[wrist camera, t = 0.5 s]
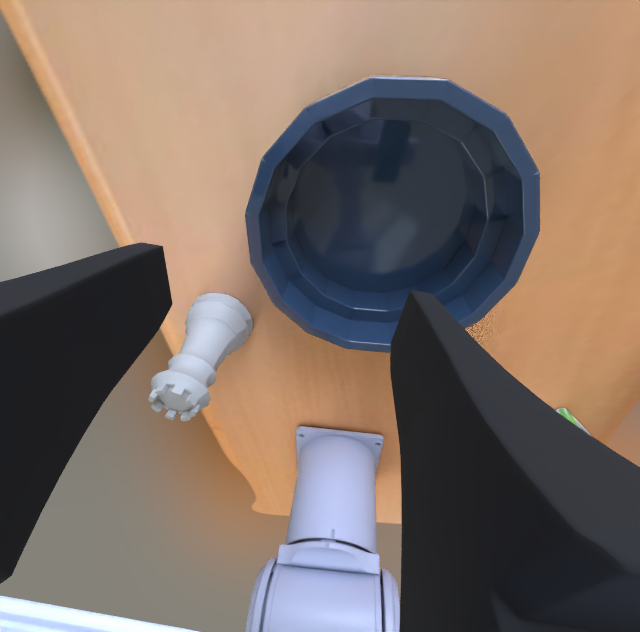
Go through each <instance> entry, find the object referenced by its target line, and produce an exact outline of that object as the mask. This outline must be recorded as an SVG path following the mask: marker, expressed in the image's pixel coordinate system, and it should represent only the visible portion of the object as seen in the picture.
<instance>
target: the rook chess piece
mask: <svg viewBox="0 0 640 632" xmlns="http://www.w3.org/2000/svg"><path fill="white" fill-rule="evenodd" d="M185 324H186V331H185V332H186V335H187V336H186V339H185V341H184V343H183V346H182V348H181V350H180V352H179V353H178V355H176V356H174V357H173V358H171V359H170V360H169V364H168V367H169V370H167V371H163V372H160V373H158V374H156V375H155V376H154V377H153V378H152V381H151V388H152V393H151V394H150V396H149V401H151V402H154V403H153V405H152V406H151V407H152V408H153V409H154V410H155V411H156V412H160V411H161V409H162V407H164V408H166V409H167V410H168V412H167V414H166V416H165V418H168V419H171V420H174V418H175V417H176V415H177V413H179V414H182V416H181V417H180V419H181V420H182V421H188V420H190V418H191V416H193V417H195V415H196V413H197V411H199V410H202V409H203V408H205V407H206V406H208V404H209V401H210V396H209V392H208V389H207V387H209V386H211V385H212V384H214V382H215V379H216V375H215V372H216V370H217V368H218V367H219V366H220V364H221V363H222V361H223V360H224V359H225V357H226V356H227V355H230V354H231V353H232V352H234V351H236V350H237V349H239V348H240V347H241V346H243V345H244V344H245V342H246V340H247V337H248V336H249V335H250V333H251V331H252V328H253V322H252V317H251V315H250V313H249V312H248V310H247V308H246V307H245V305H244V304H242V303H241V302H240V301H239V300H238V299H236V298H234V297H232V296H230V295H227V294H222V293H208V294H204V295H201V296H199V297H198V298H197V299H196V300H195V301H194V302H193V304H192V308H191V309H189V310H188V314H187V318H186V322H185Z"/></svg>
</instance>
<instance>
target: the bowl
mask: <svg viewBox="0 0 640 632" xmlns="http://www.w3.org/2000/svg"><path fill="white" fill-rule="evenodd" d="M245 218H246V227H247V235H248V244H249V252H250V261H251V264H252V266H253V268H254V270H255V272H256V274H257V276H258V277H259V279H260V281H261V283H262V285H263V286H264V288H265V290H266V292H267V294H268V295H269V297H270V299H271V301H272V303H274V305H275V306H276V307H277V308H278V309H280V310H281V311H282V312H283V313H284V314H285V315H287V316H288V317H289V318H290V319H291V320H292V321H294V322H295V323H296V324H297V325H298V326H299V327H301V328H302V329H303V330H304V331H305V332H307V333H309V334H311V335H314V336H316V337H319V338H321V339H324V340H326V341H329V342H331V343H333V344H336V345H338V346H341V347H343V348H347V349H353V350H364V351H375V352H386V353H390V352H391V341H392V338H393V335H394V332H395V330H396V327H397V324H398V321H399V319H400V316H401V313H402V310H403V308H404V305H405V302H406V299H407V297H408V294H409V291H410V290H414V291H419V292H425V293H431V294H432V295H433V296H434V297H435V298H436V299H437V300H438V301H439V302H440V303H441V304H442V305H443V306H444V307H445V308H446V309H447V311H448V312H449V313H450V314H451V315H452V316H453V317H454V318H455V319H456V320H457V322H458V323H459V324H460V325H461V326H462V327H463V328H464V329H465V328H467V327H469V326H471V325H473V324H475V323H477V322H478V321H479V320H481V319H482V318H483V317H484V316H485V315H486V314H487V313H488V312H489V311H490V310H491V309H492V308H493V307H494V306H495V305H496V304H497V303H498V302H499V301H500V300H501V299H502V298H503V297H504V296H505V295H506V294H507V293H508V292H509V291H510V290H511V289H512V288H513V287H514V286H515V285H516V283H517V282H518V279H519V277H520V275H521V273H522V270H523V268H524V266H525V264H526V261H527V259H528V257H529V255H530V253H531V250H532V248H533V246H534V244H535V241H536V239H537V237H538V235H539V231H540V173H539V170H538V168H537V166H536V164H535V163H534V161H533V159H532V157H531V155H530V154H529V152H528V150H527V148H526V146H525V145H524V143H523V141H522V139H521V137H520V136H519V134H518V132H517V130H516V128H515V126H514V125H513V123H512V121H511V119H510V117H509V116H507V114H506V113H504V112H503V111H501V110H499V109H497V108H496V107H494V106H492V105H491V104H489V103H487V102H486V101H484V100H482V99H480V98H479V97H477V96H475V95H474V94H472V93H470V92H469V91H467V90H465V89H464V88H462V87H460V86H458V85H457V84H455V83H453V82H452V81H450V80H446V79H443V78H434V77H428V76H396V75H371V76H367V77H365V78H363V79H360V80H358V81H356V82H354V83H352V84H350V85H347V86H345V87H343V88H341V89H339V90H336V91H334V92H332V93H330V94H328V95H326V96H323V97H321V98H319V99H318V100H316V101H315V102H313V103H312V104H310V105H309V106H307V107H306V108H304V109H303V111H302V112H301V113H300V114H299V115H298V116H297V118H296V119H295V120H294V121H293V122H292V123H291V124H290V126H289V127H288V128H287V129H286V130H285V131H284V133H283V134H282V135H281V136H280V137H279V138H278V140H277V141H276V142H275V143H274V144H273V145H272V146H271V148H270V149H269V150H268V151H267V152H266V153H265V155H264V156H263V157H262V159H261V162H260V165H259V169H258V172H257V175H256V179H255V182H254V185H253V189H252V192H251V195H250V198H249V202H248V205H247V208H246V213H245Z"/></svg>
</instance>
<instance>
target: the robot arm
mask: <svg viewBox="0 0 640 632" xmlns="http://www.w3.org/2000/svg"><path fill="white" fill-rule="evenodd" d="M171 306H172V299H171V293H170V287H169V281H168V275H167V269H166V263H165V257H164V251H163V246H158V245H153V244H147V243H137V244H132V245H128V246H124V247H120V248H117V249H113V250H110V251H107V252H103V253H100V254H97V255H94V256H90V257H87V258H84V259H81V260H78V261H74V262H71V263H68V264H65V265H62V266H58V267H54V268H51V269H47V270H44V271H40V272H37V273H33V274H29V275H26V276H23V277H19V278H15V279H11V280H7V281H3V282H0V583H2V582H4V581H5V580H6V579H8V578H9V577H10V576H11V575H12V574H13V571H14V569H15V567H16V565H17V562H18V560H19V558H20V556H21V554H22V551H23V549H24V547H25V545H26V543H27V541H28V539H29V537H30V535H31V533H32V531H33V529H34V526H35V524H36V522H37V520H38V518H39V516H40V514H41V512H42V510H43V508H44V506H45V504H46V502H47V500H48V498H49V496H50V495H51V492H52V491H53V489H54V487H55V485H56V483H57V481H58V479H59V477H60V475H61V474H62V472H63V470H64V468H65V466H66V464H67V462H68V461H69V459H70V457H71V456H72V454H73V452H74V451H75V449H76V447H77V445H78V443H79V441H80V440H81V438H82V436H83V435H84V433H85V432H86V430H87V428H88V427H89V425H90V423H91V422H92V420H93V418H94V417H95V415H96V414H97V412H98V410H99V409H100V407H101V405H102V404H103V402H104V401H105V399H106V398H107V397H108V395H109V394H110V392H111V391H112V390H113V388H114V387H115V386H116V384H117V383H118V382H119V381H120V379H121V378H122V377H123V375H124V374H125V373H126V372H127V370H128V369H129V368H130V366H131V365H132V364H133V363H134V361H135V360H136V359H137V357H138V356H139V355H140V354H141V352H142V351H143V350H144V348H145V347H146V346H147V344H148V343H149V342H150V340H151V339H152V338H153V337H154V335H155V334H156V332H157V331H158V330H159V328H160V326H161V324H162V323H163V321H164V319H165V317H166V315H167V313H168V311H169V310H170V308H171ZM390 370H391V380H392V388H393V396H394V404H395V411H396V419H397V427H398V434H399V443H400V454H401V488H402V558H401V561H402V562H401V600H400V604H399V595H398V588H397V582H396V580H395V579H394V578H393V576H392V575H391V574H390V571H389V570H387V569H381V576H380V561H379V555H378V554H377V540H376V499H375V474H376V470H377V466H378V462H379V458H380V454H381V450H382V446H383V442H384V440H383V436H382V435H379V434H370V433H361V432H352V431H342V430H333V429H324V428H315V427H306V426H299V427H297V429H296V448H297V478H296V484H295V490H294V496H293V502H292V508H291V514H290V520H289V526H288V532H287V538H286V544H285V545H282V544H281V545H280V546H279V552H278V557H277V558H275V557H272V558H270V559H269V560H268V561H267V563H266V564H265V565H264V566H263V567H262V568H261V570H260V572H259V574H258V576H257V579H256V582H255V586H254V589H253V593H252V597H251V601H250V606H249V611H248V617H247V625H246V632H640V467H638V466H637V465H635V464H634V463H632V462H630V461H629V460H627V459H626V458H624V457H622V456H621V455H619V454H618V453H616V452H614V451H613V450H611V449H610V448H608V447H607V446H605V445H604V444H602V443H601V442H599V441H598V440H596V439H595V438H593V437H592V436H590V435H589V434H588V433H586V432H585V431H583V430H582V429H581V428H579V427H578V426H576V425H575V424H574V423H572V422H571V421H569V420H568V419H567V418H565V417H564V416H562V415H561V414H560V413H558V412H557V411H555V410H554V409H553V408H551V407H550V406H549V405H548V404H546V403H545V402H544V401H542V400H541V399H540V398H539V397H537V396H536V395H535V394H534V393H532V392H531V391H530V390H529V389H528V388H526V387H525V386H524V385H523V384H521V383H520V382H519V381H518V380H517V379H515V378H514V377H513V376H512V375H511V374H510V373H509V372H507V371H506V370H505V369H504V368H503V367H502V366H501V365H500V364H499V363H498V362H497V361H496V360H495V359H494V358H493V357H491V356H490V355H489V354H488V353H487V352H486V351H485V350H484V349H483V348H482V347H481V346H480V345H479V344H478V343H477V342H476V341H475V340H474V339H473V338H472V337H471V336H470V334H469V333H468V332H467V331H466V330H465V329H464V328H463V327H462V326H461V325H460V324H459V323H458V322H457V320H456V319H455V318H454V317H453V316H452V315H451V314H450V313H449V312H448V311H447V309H446V308H445V307H444V306H443V305H442V304H441V303H440V302H439V301H438V300H437V299H436V298H435V297H434V296H433V295H432V294H431V293H425V292H419V291H414V290H410V291H409V294H408V297H407V299H406V302H405V305H404V308H403V310H402V313H401V316H400V319H399V321H398V324H397V327H396V330H395V332H394V335H393V338H392V341H391V357H390ZM0 632H199V631H194V630H188V629H183V628H177V627H172V626H166V625H160V624H155V623H149V622H144V621H138V620H133V619H127V618H122V617H115V616H111V615H105V614H99V613H94V612H88V611H83V610H77V609H72V608H66V607H61V606H55V605H49V604H44V603H38V602H33V601H27V600H22V599H16V598H11V597H5V596H0Z"/></svg>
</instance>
